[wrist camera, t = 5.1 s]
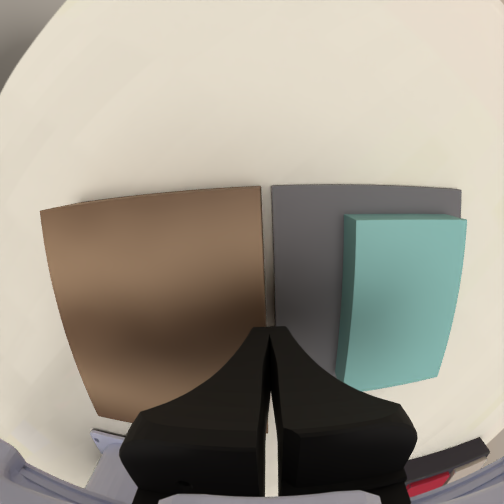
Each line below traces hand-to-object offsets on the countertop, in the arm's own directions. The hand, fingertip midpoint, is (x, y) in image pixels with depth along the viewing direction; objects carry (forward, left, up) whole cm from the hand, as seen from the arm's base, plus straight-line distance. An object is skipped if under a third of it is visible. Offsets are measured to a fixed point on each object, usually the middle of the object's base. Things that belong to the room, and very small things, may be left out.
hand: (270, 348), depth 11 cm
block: (0, -7, -3) cm, 7 cm away
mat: (0, -6, -4) cm, 7 cm away
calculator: (-25, -16, -5) cm, 30 cm away
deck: (0, +5, -4) cm, 7 cm away
